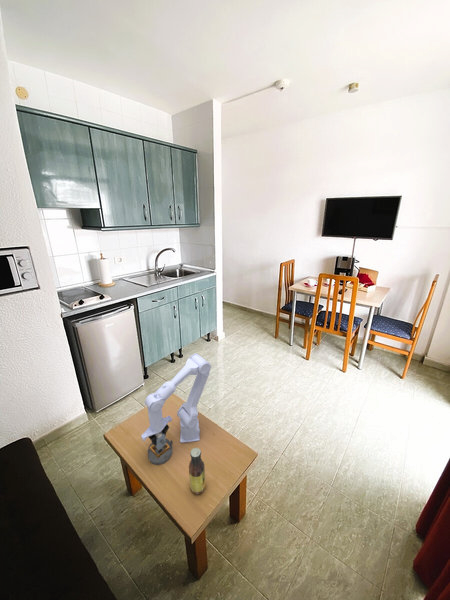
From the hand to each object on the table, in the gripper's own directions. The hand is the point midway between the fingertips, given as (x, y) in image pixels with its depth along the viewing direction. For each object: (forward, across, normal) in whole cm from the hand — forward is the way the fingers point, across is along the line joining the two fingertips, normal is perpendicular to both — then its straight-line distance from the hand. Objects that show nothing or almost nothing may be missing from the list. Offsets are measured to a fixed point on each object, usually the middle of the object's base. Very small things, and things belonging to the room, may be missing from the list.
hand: (158, 441), depth 112 cm
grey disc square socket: (+8, 0, 0) cm, 8 cm away
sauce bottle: (+8, -2, +24) cm, 25 cm away
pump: (+2, 0, 0) cm, 2 cm away
